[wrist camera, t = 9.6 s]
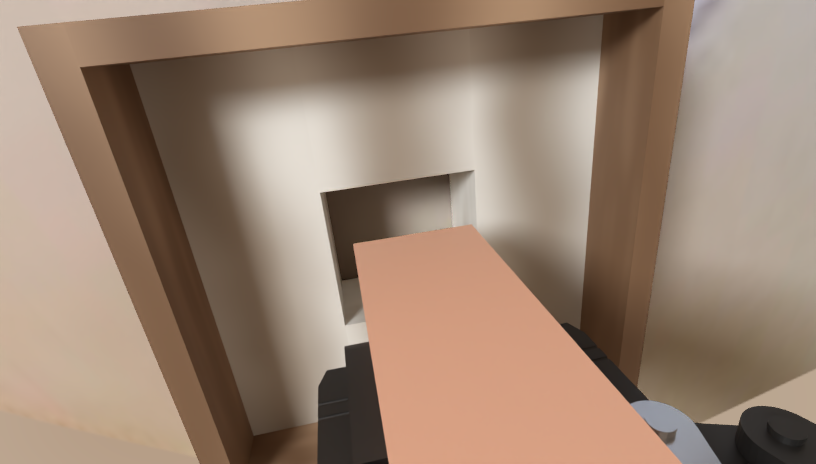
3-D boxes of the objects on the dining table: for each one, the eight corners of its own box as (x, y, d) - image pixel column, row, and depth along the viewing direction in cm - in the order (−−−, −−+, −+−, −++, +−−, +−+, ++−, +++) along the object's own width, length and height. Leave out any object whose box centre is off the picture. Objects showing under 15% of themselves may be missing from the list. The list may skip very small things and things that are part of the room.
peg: (471, 224, 14) (726, 514, 5) (475, 322, 16) (678, 676, 7) (352, 244, 14) (411, 602, 5) (369, 343, 15) (436, 755, 6)
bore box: (572, -6, 19) (699, -36, 12) (556, 332, 26) (631, 422, 20) (135, 37, 16) (17, 26, 10) (250, 394, 24) (223, 519, 17)
